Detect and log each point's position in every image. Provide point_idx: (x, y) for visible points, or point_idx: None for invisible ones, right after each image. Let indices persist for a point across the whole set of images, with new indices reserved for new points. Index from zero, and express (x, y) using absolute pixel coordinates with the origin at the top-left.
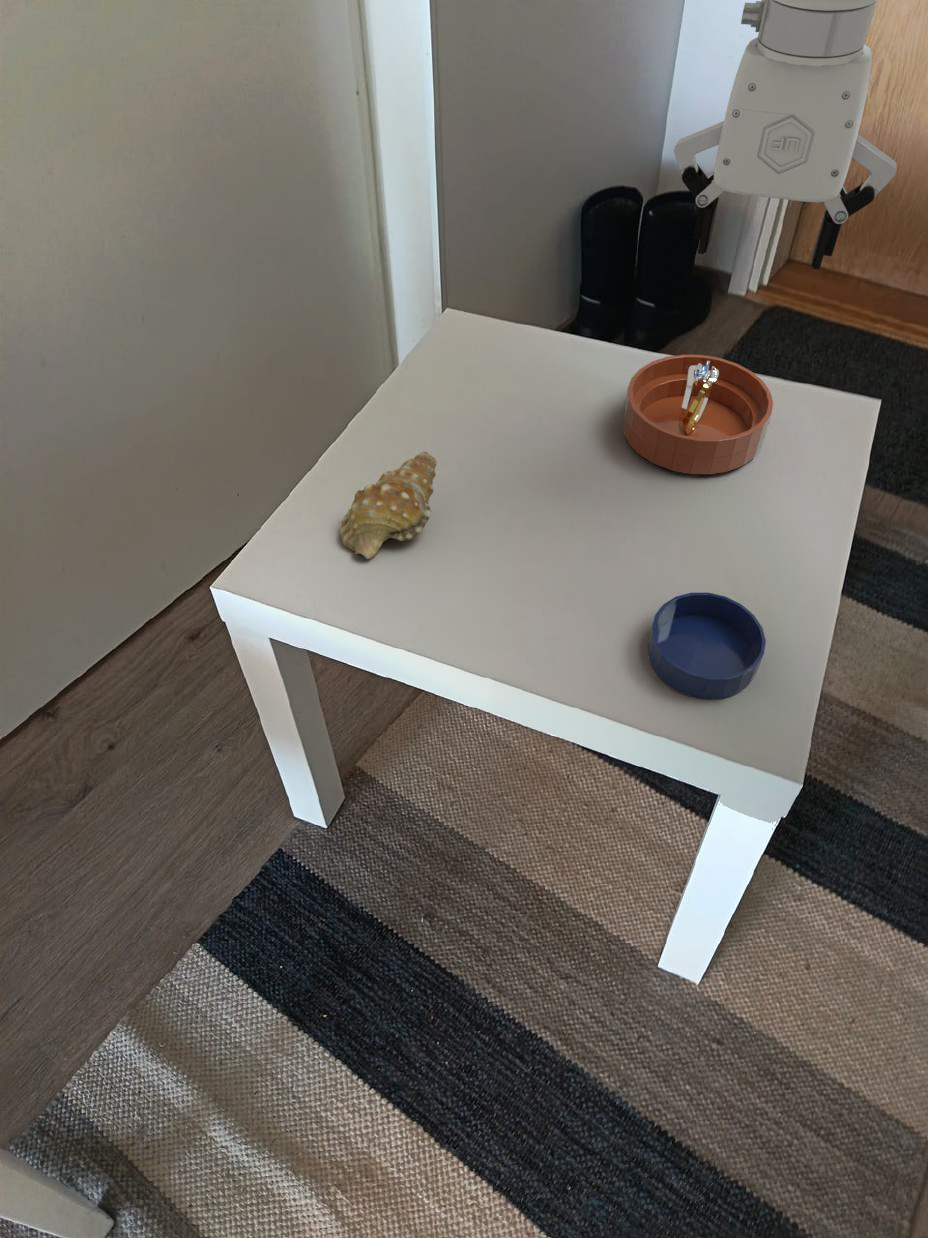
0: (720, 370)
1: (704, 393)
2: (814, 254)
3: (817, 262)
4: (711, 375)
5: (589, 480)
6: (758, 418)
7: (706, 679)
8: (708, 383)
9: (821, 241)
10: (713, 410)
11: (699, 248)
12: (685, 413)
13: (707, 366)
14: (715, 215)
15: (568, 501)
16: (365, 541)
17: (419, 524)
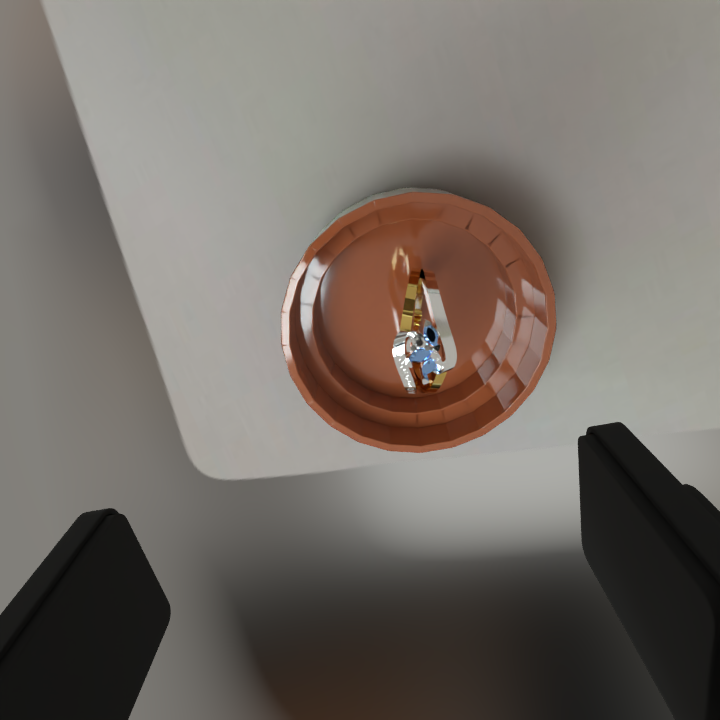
0: (411, 435)
1: (403, 307)
2: (103, 560)
3: (83, 527)
4: (407, 354)
5: (536, 91)
6: (311, 358)
7: None
8: (404, 330)
9: (31, 610)
10: (395, 373)
11: (625, 431)
12: (423, 274)
13: (423, 373)
14: (635, 644)
15: (556, 3)
16: None
17: None
